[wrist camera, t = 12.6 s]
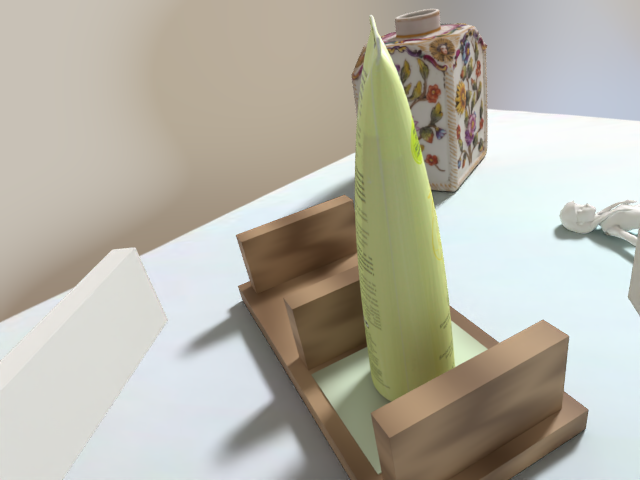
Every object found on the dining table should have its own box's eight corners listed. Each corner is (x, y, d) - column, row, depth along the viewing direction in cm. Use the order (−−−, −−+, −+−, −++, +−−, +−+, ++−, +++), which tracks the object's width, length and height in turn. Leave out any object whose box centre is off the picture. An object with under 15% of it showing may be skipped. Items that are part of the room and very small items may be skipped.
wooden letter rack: (360, 250, 45) (350, 188, 41) (585, 429, 25) (598, 335, 22) (242, 299, 41) (221, 236, 38) (395, 554, 21) (378, 464, 18)
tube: (484, 379, 27) (475, 3, 17) (423, 433, 24) (376, 33, 15) (410, 335, 31) (371, 14, 22) (353, 378, 29) (281, 38, 19)
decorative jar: (490, 154, 59) (489, -4, 50) (458, 194, 51) (451, 15, 42) (403, 151, 66) (389, 11, 57) (363, 186, 58) (340, 29, 49)
